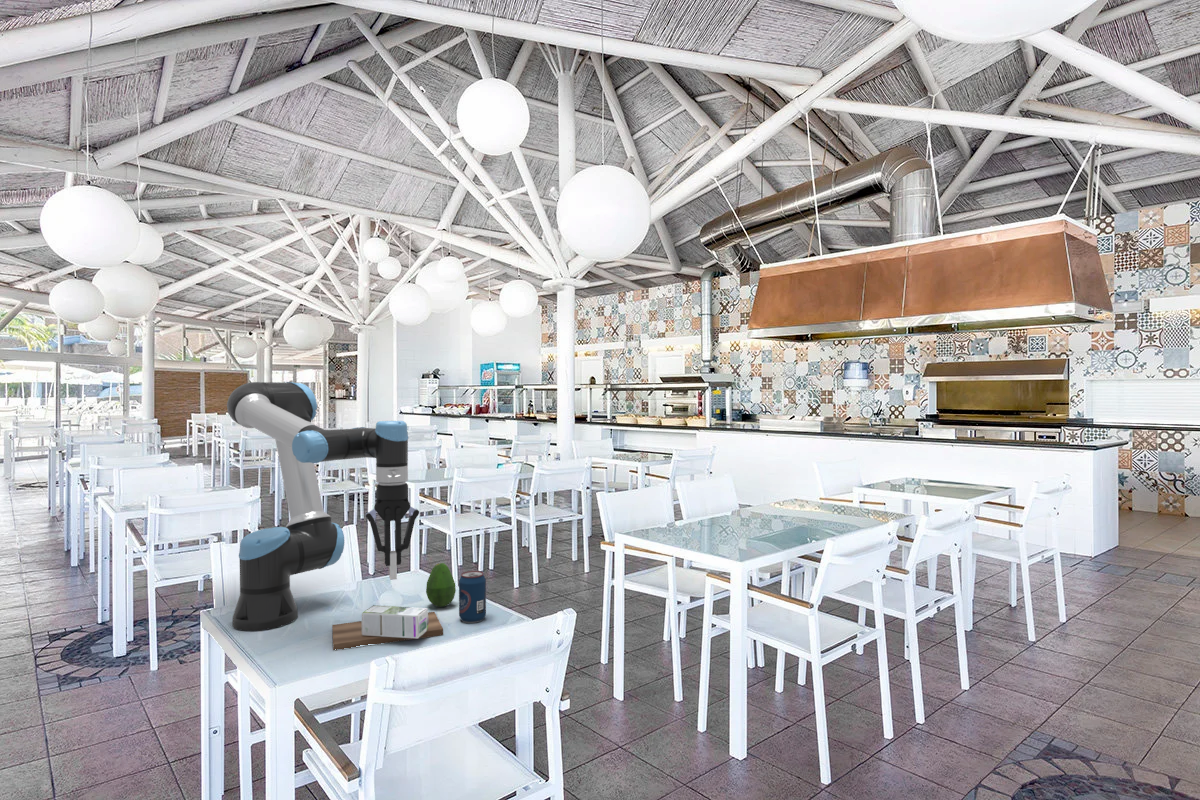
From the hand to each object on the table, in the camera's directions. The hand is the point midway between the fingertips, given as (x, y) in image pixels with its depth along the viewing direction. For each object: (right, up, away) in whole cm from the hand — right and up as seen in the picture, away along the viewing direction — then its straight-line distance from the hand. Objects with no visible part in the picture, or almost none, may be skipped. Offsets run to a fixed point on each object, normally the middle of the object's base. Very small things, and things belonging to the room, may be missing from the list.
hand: (393, 578), depth 165 cm
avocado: (+7, -13, +20) cm, 25 cm away
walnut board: (-1, -13, 0) cm, 13 cm away
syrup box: (-5, -9, -4) cm, 11 cm away
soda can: (+18, -14, +9) cm, 24 cm away
